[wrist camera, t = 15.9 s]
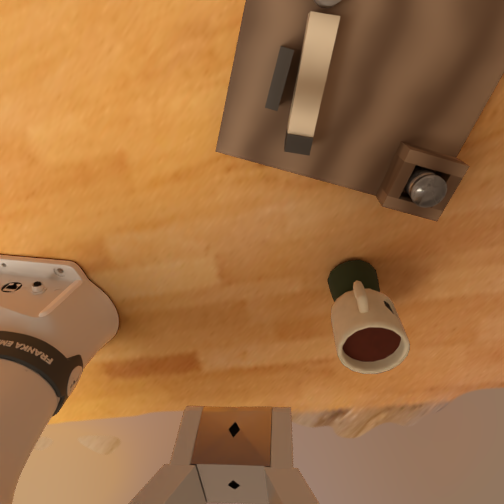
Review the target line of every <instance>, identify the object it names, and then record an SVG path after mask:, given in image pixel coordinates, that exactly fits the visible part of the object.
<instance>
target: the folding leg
mask: <svg viewBox="0 0 504 504" xmlns="http://www.w3.org/2000/svg"><path fill="white" fill-rule="evenodd" d="M340 1H341V0H314V2H315V3H316V4H317V5H318V6H320V7H322V8H330V7H333V6H334V5H336V4H337V3H338V2H340ZM339 21H340V16H336V15H330V14H324V13H318V12H312V11H310V13H309V14H308V18H307V24H306V29H305V34H304V40H303V45H302V50H301V56H300V61H299V67H298V72H297V77H296V83H295V88H294V93H293V99H292V104H291V109H290V115H289V120H288V125H287V131H286V136H285V141H284V152H290V153H296V154H302V155H308V156H310V151H311V147H312V142H313V136H314V131H315V127H316V122H317V118H318V114H319V109H320V105H321V100H322V96H323V91H324V87H325V83H326V78H327V74H328V69H329V65H330V61H331V56H332V52H333V47H334V43H335V39H336V34H337V30H338V25H339Z"/></svg>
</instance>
